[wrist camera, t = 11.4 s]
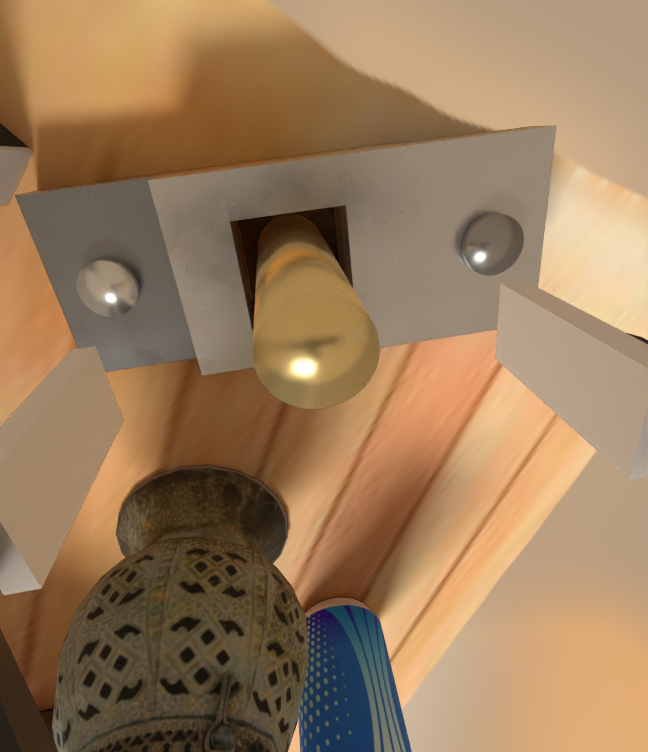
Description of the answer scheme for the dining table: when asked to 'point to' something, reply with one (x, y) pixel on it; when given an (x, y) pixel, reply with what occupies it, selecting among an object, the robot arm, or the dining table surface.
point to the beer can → (349, 683)
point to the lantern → (187, 626)
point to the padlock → (11, 163)
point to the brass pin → (308, 320)
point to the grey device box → (287, 195)
